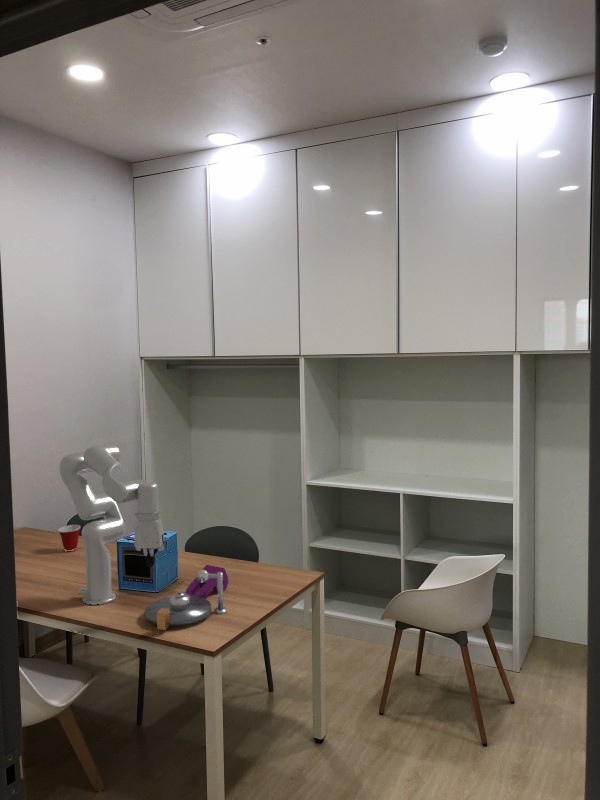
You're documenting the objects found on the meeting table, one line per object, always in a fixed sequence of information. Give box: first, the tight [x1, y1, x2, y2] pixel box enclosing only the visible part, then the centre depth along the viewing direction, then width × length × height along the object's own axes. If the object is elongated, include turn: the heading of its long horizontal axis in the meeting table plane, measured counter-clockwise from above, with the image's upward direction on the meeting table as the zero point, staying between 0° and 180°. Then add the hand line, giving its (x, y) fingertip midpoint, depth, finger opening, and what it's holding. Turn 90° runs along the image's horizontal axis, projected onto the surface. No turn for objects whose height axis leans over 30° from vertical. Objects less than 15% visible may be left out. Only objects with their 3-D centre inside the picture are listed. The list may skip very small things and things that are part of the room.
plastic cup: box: [57, 524, 81, 550], centre depth 324 cm, size 11×11×12 cm
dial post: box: [195, 569, 228, 615], centre depth 242 cm, size 11×5×16 cm, turn 79°
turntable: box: [144, 596, 212, 631], centre depth 236 cm, size 24×28×6 cm
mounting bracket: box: [185, 564, 229, 599], centre depth 261 cm, size 9×8×18 cm
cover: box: [169, 591, 190, 611], centre depth 237 cm, size 7×7×5 cm
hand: (150, 565), depth 236 cm, fingers closed
